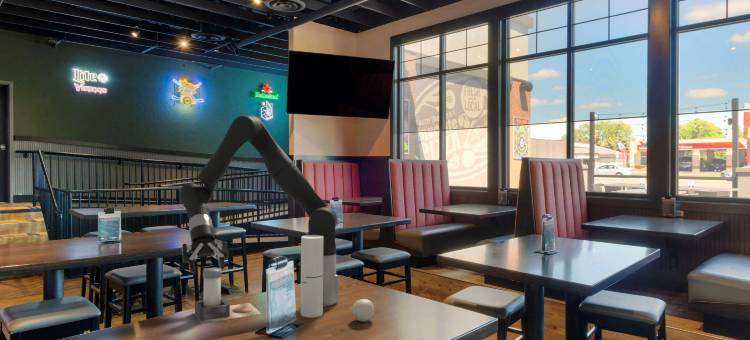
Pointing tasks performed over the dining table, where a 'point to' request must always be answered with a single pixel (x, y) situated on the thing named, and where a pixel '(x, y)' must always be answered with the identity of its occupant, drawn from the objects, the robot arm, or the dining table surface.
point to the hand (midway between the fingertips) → (208, 270)
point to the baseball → (362, 310)
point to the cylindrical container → (311, 276)
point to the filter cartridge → (212, 287)
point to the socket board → (223, 311)
